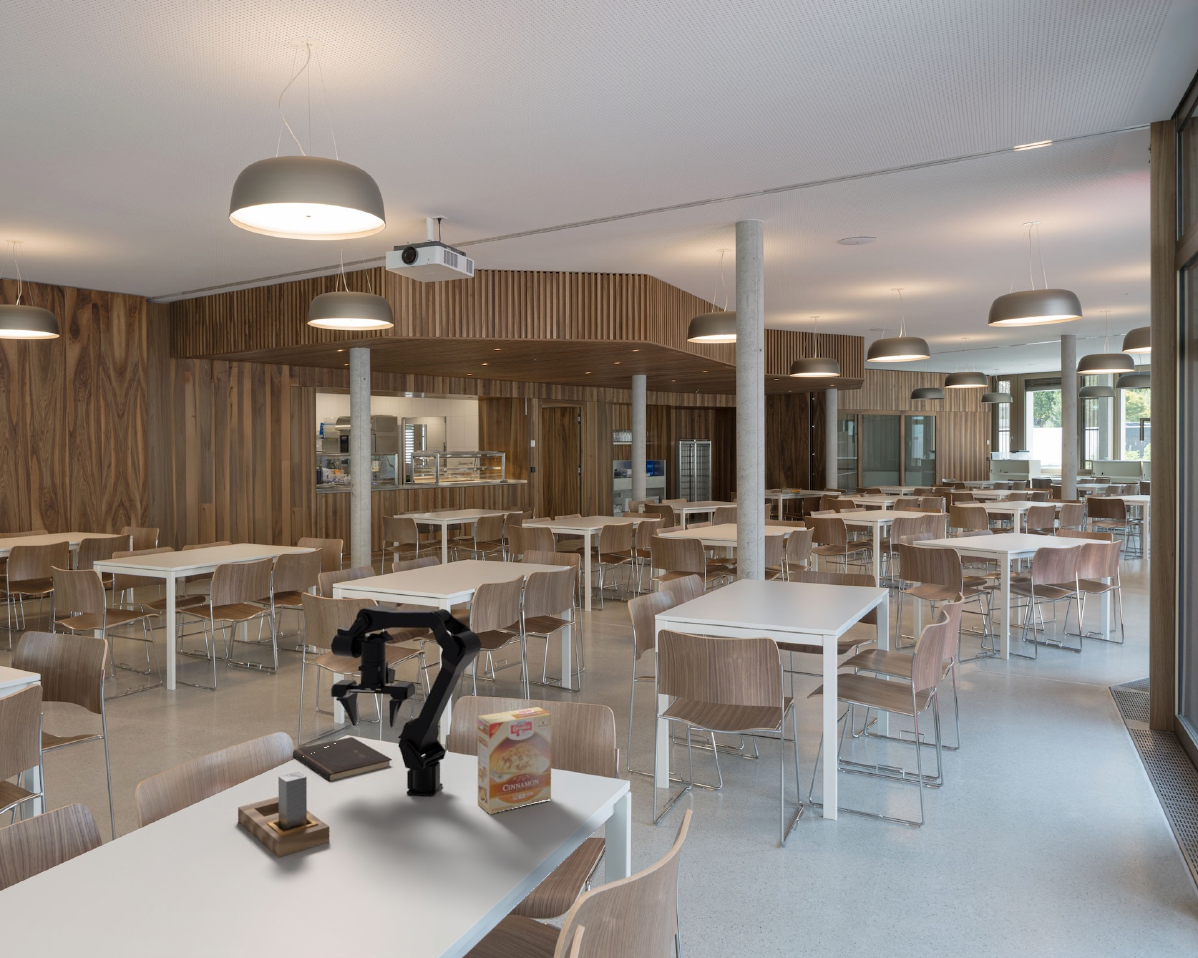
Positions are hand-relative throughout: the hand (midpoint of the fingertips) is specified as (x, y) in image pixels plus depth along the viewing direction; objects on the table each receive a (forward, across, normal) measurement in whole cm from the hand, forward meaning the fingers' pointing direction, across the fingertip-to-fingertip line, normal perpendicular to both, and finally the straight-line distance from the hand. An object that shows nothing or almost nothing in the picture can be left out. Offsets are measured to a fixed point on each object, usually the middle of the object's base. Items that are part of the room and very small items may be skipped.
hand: (373, 725), depth 197 cm
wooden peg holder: (+13, +7, +29) cm, 33 cm away
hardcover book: (+14, +14, -12) cm, 23 cm away
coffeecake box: (+13, -36, +8) cm, 39 cm away
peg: (+13, +3, +32) cm, 35 cm away
